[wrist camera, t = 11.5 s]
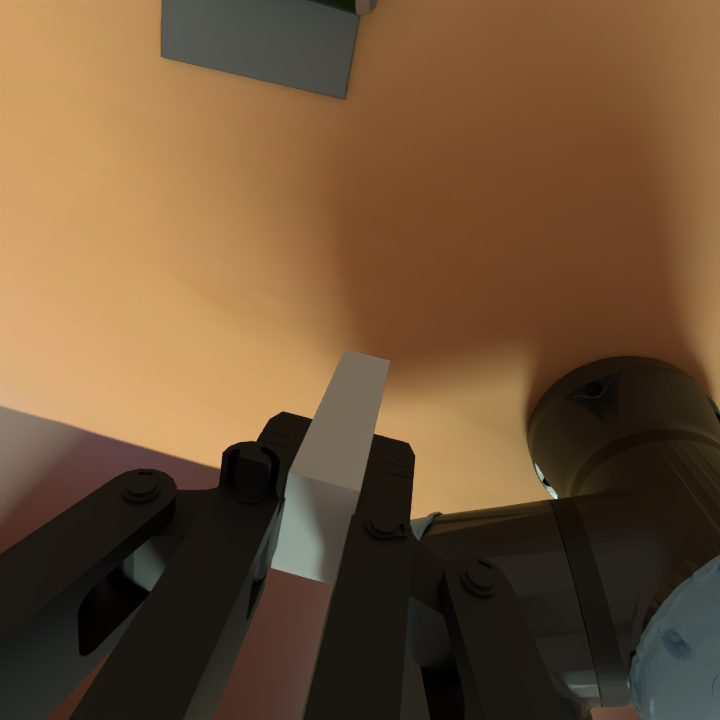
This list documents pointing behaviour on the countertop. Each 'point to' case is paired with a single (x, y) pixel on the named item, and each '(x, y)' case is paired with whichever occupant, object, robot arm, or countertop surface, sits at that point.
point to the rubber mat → (264, 40)
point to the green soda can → (350, 5)
